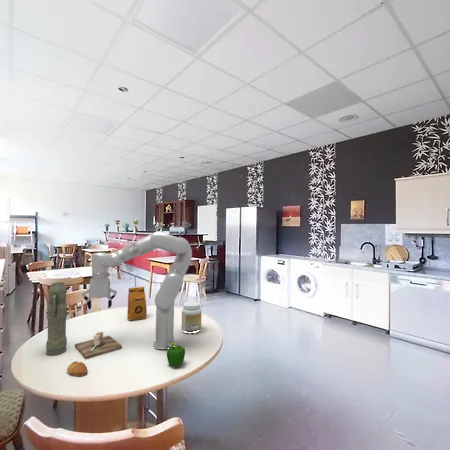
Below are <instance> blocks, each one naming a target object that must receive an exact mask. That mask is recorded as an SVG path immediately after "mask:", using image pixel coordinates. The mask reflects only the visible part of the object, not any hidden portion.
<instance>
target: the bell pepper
mask: <svg viewBox="0 0 450 450" xmlns="http://www.w3.org/2000/svg"><path fill="white" fill-rule="evenodd" d="M171 345H174V346H175V347H174V346H171V347H170V348H169V349H167V350H166V359H167V362H168V365H169V364H170V365H169V366H171V367H172V366H173V367H172V368H178V367H177V366H179V367H181V366H182V364H183V363H184V360H185V356H186V349H185V347H183V346H182V345H177V343H176V344H175V343H171ZM180 365H181V366H180Z"/></svg>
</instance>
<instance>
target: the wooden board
mask: <svg viewBox="0 0 450 450" xmlns="http://www.w3.org/2000/svg"><path fill="white" fill-rule="evenodd" d="M103 341H104V345H102V346H99V347H95V349H94V350H93V351H91V349H92V348H93V347H94V346H93V342H94V338H93V339H91V340H89V339H88V340H86V341H82V342H79V343H74V348H75V349H76V350H77V352H79V354H80V355H81V356H82V357H83V358H84V359H85V360H88V359H91V358H95V357H98V356H102V355H105V354H108V353H111V352H116V351H119V350H121V349H123V345H122V344H120V343H119V342H118V341H117V340H116V339H114V337H112V336H110V335H106V336H103Z"/></svg>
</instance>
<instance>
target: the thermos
mask: <svg viewBox="0 0 450 450" xmlns="http://www.w3.org/2000/svg"><path fill="white" fill-rule="evenodd" d="M48 288H49V289H48V305H47V308H46V319H47V340H46V344H45V345H46V346H45V347H46V348H45V349H46V353H45V354H46V355H47V356H48V355H49V357H54V356H59V355H62V354H64V353H66V352H67V344H68V340H67V335H66V334H67V332H66V330H67V329H66V328H67V317H68V304H67V300H66V299H67V286H66V284H65V282H54V283H51V284H50V286H49V287H48Z"/></svg>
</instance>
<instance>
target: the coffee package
mask: <svg viewBox="0 0 450 450" xmlns="http://www.w3.org/2000/svg"><path fill="white" fill-rule="evenodd" d="M147 311H148V310H147V299H146V293H145V286H139V287H138V286H137V287H129V288H128V295H127V311H126V312H127V319H128V320H129V321H135V320H136V321H137V320H144V319H146V318H147V315H148V314H147Z"/></svg>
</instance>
